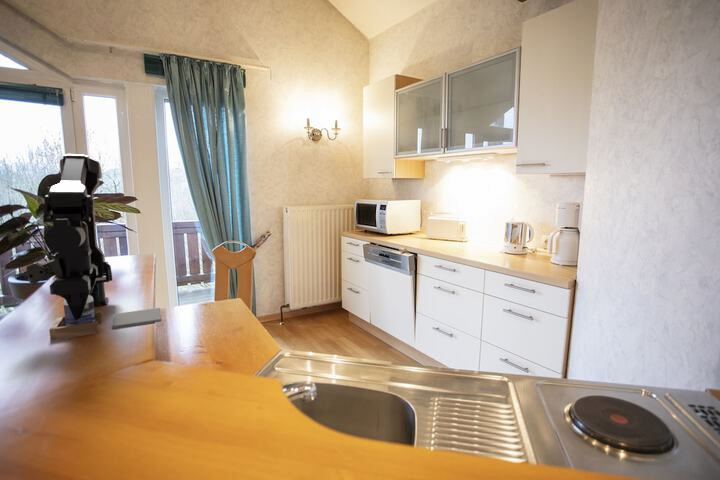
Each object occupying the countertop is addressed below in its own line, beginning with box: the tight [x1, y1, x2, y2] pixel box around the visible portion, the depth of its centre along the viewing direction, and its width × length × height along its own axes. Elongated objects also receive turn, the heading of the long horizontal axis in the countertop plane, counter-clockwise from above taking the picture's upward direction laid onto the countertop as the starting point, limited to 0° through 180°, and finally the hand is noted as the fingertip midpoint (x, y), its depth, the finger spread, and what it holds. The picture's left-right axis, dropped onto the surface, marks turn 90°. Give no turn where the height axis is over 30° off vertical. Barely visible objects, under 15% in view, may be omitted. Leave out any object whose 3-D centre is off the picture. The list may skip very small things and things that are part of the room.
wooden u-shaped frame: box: [48, 310, 103, 342], centre depth 83 cm, size 9×8×2 cm
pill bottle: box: [63, 295, 96, 326], centre depth 83 cm, size 5×5×10 cm
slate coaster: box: [111, 307, 162, 330], centre depth 91 cm, size 10×10×1 cm
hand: (80, 314), depth 83 cm, fingers open, 6 cm apart
